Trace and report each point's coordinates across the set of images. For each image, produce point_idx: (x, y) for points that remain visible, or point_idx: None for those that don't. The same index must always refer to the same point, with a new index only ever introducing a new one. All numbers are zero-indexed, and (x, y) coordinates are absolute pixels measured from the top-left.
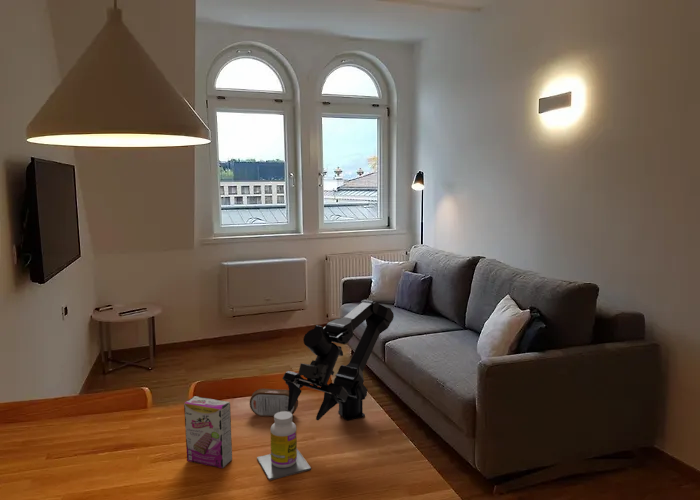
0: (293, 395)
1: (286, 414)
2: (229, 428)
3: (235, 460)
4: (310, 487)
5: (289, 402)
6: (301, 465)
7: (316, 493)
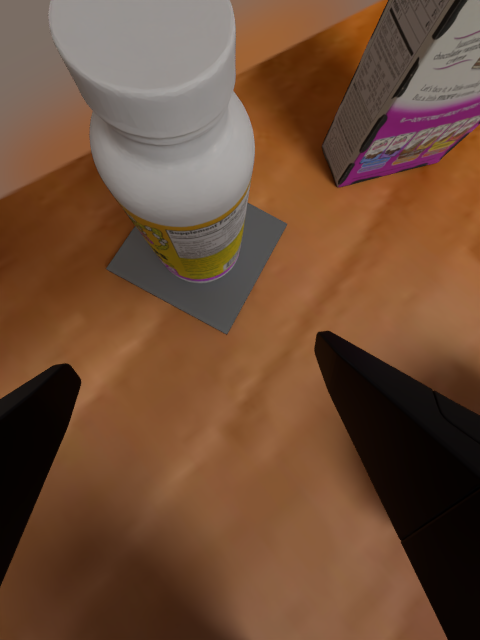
0: (417, 446)
1: (127, 40)
2: (417, 41)
3: (327, 191)
4: (55, 203)
5: (366, 361)
6: (141, 263)
7: (22, 191)
